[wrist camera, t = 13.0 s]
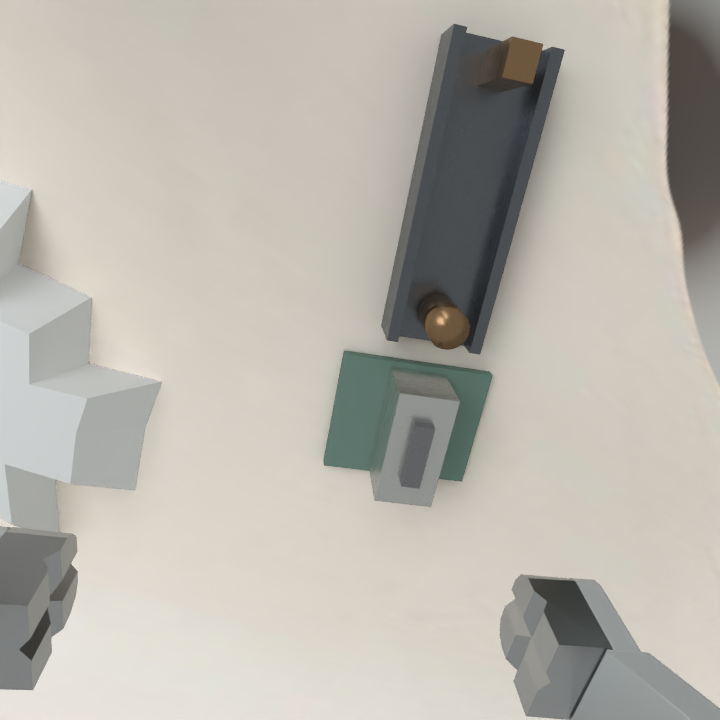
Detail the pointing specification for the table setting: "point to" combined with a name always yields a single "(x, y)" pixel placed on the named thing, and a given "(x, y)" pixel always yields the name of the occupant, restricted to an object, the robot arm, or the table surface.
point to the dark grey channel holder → (468, 186)
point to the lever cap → (412, 436)
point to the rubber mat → (364, 401)
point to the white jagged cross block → (57, 389)
